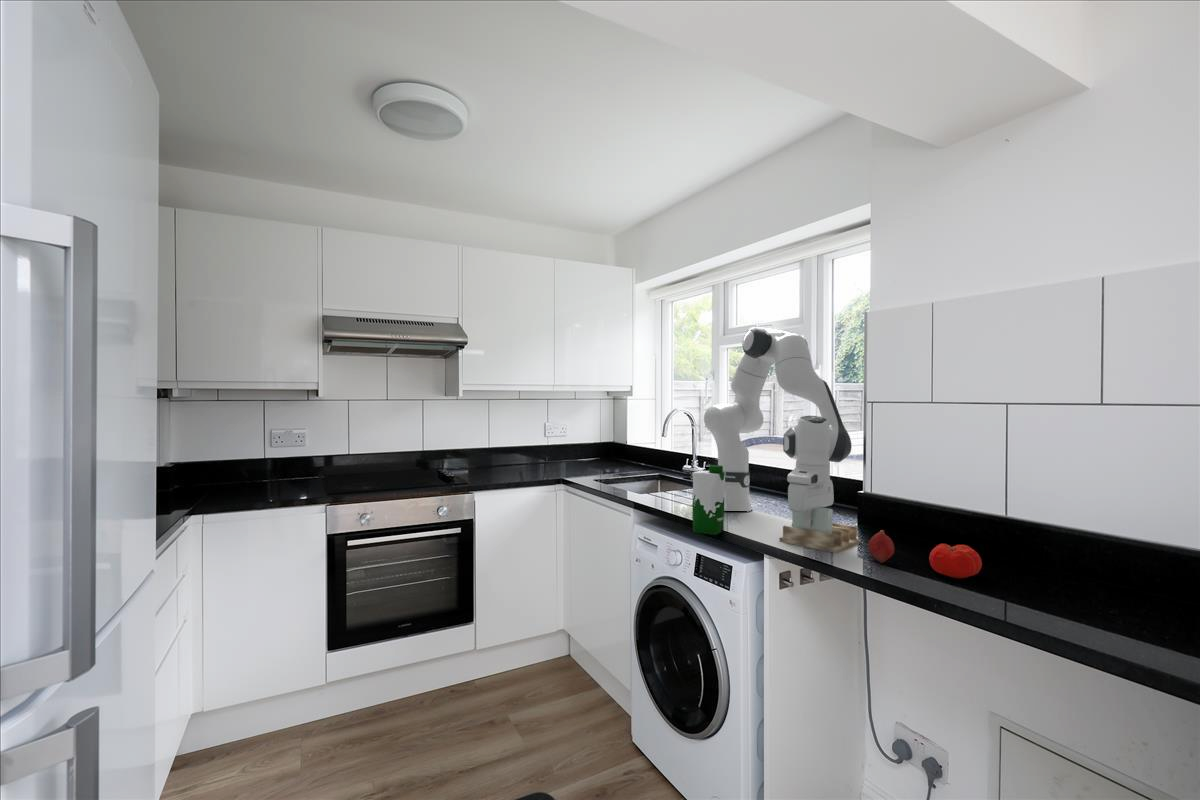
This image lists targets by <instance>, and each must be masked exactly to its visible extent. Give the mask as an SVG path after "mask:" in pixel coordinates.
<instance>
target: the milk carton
mask: <svg viewBox="0 0 1200 800" xmlns="http://www.w3.org/2000/svg"><path fill="white" fill-rule="evenodd" d="M708 467H709V468H708V470H698V471H694V472H692V503H693V505H692V532H693V533H697V534H703V535H704V534H705V535H710V536H711V535H712V536H717V535H719V534H720V533H722V532H723V531H724V526H725V525H724V524H725V523H724V522H725V512H724V492H725V474H726V472H723V466H720V465H718V464H717V465H716V464H715V465H714V464H710V465H708ZM722 530H723V531H722Z"/></svg>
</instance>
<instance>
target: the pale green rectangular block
mask: <svg viewBox="0 0 1200 800" xmlns="http://www.w3.org/2000/svg"><path fill="white" fill-rule="evenodd" d="M791 512H792V513H791V514H792V516H791V517H792V519H791V520H792V521H791V527H796V528H801V529H807V530H812V531H818V532H823V533H828V534H832V523H834V522H833V514H834V513H833V512H834V511H833V508H829V507H820V508H816V509H814V510H811V514H810V515H811V519H812V520H813V522H812V523H813V524H812V526H809V527H808V526H805V525H804V519H803V516H802V513H799V512H793V511H791Z"/></svg>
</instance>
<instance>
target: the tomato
mask: <svg viewBox="0 0 1200 800" xmlns="http://www.w3.org/2000/svg"><path fill="white" fill-rule="evenodd" d="M928 559H929V565H930V567H931V568H932V569H933V570H934V571H935V572H936V573H938V574H940V575H944V576H947V577H950V578H953V579H966V578H968V577H973V576H975V575H977V574H979V572H980V571H981V569H982V565H983V562H982V558H981V556H980V554H979V553H978V552H977V551H976V550H974V549H973V548H972V547H971V546H969V545H966V544H956V545H953V546H951V545H949V544H947V543H939V544H938V545H936V546H935V547H934V548H932V550H931V552H930V553H929V557H928Z"/></svg>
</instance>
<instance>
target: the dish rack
mask: <svg viewBox="0 0 1200 800" xmlns="http://www.w3.org/2000/svg"><path fill="white" fill-rule="evenodd" d="M857 531H858V527H857V526H854V525H848V524H843V523H838V522H832V534H828V533H823V532H818V531H812V530H807V529H801V528H796V527H792V526H791V525H790V526H789V525H783V526H782V536H780V537H779V541H778V542H781V541H782V543H786V544H792V545H797V546H800V547H806V548H809V549H810V548H811V549H816V550H820V551H824V552H830V553H834V554H837V553H840V552H842V551H844V550H848V549H849V548H853V547H855V546H857V545H860V544H861V539H860V538H859V539H858V538H857V536H858V534H857V533H858V532H857ZM859 543H860V544H859Z"/></svg>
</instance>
